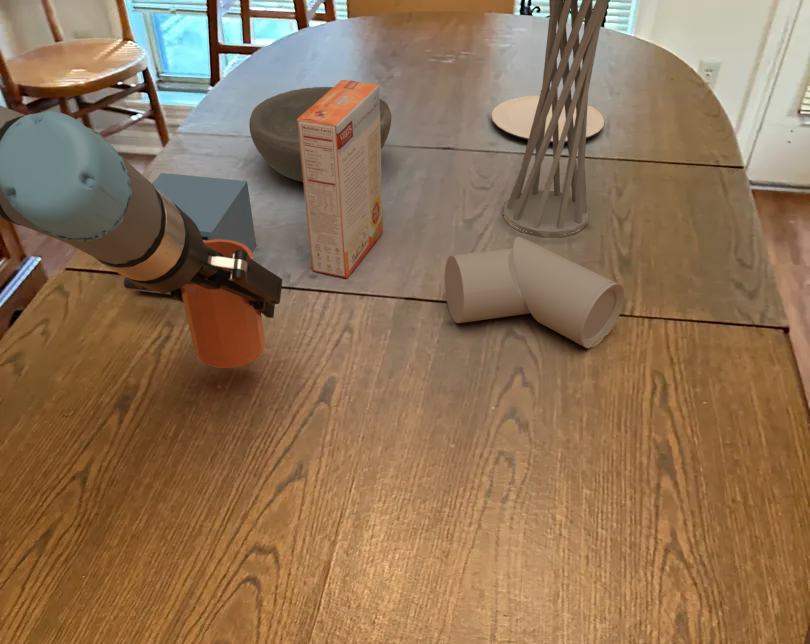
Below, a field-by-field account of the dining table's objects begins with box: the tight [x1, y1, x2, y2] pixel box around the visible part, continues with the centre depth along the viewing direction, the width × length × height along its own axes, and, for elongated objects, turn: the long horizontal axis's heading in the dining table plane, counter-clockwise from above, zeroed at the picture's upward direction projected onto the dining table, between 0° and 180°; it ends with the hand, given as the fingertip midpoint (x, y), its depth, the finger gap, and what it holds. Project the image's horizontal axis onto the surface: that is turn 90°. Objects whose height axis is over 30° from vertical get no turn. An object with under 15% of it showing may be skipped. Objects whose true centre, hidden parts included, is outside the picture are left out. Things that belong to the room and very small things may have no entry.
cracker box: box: [297, 79, 384, 279], centre depth 107 cm, size 14×6×21 cm, turn 159°
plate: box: [490, 95, 605, 144], centre depth 145 cm, size 21×21×2 cm
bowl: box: [248, 86, 392, 183], centre depth 129 cm, size 23×22×10 cm
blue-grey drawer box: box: [151, 172, 257, 253], centre depth 109 cm, size 15×13×10 cm
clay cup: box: [180, 239, 266, 369], centre depth 86 cm, size 8×8×11 cm
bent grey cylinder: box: [444, 236, 625, 349], centre depth 101 cm, size 18×11×20 cm
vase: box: [502, 0, 610, 239], centre depth 110 cm, size 14×13×35 cm
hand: (234, 301), depth 90 cm, fingers closed on clay cup, 8 cm apart
